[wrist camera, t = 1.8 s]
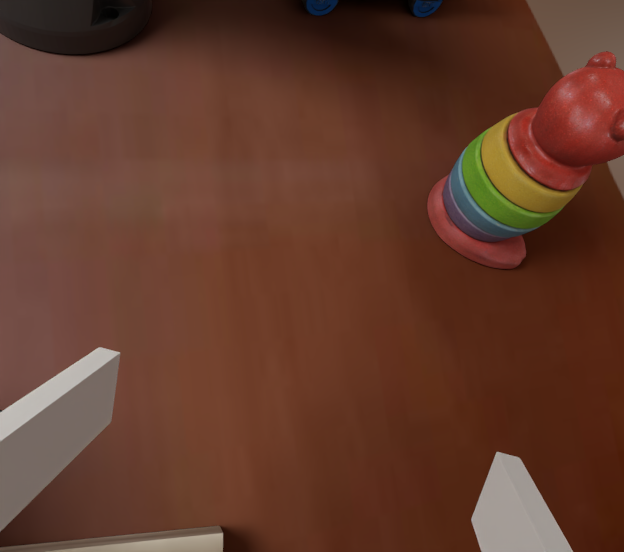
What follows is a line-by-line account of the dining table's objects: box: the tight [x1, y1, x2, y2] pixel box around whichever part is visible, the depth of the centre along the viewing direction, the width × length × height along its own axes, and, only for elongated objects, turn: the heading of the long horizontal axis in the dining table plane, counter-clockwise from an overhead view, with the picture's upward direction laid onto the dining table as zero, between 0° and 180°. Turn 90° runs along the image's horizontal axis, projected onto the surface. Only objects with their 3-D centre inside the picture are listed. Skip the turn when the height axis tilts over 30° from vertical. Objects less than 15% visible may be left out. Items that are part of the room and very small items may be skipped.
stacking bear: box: [427, 51, 624, 269], centre depth 36 cm, size 11×10×18 cm
